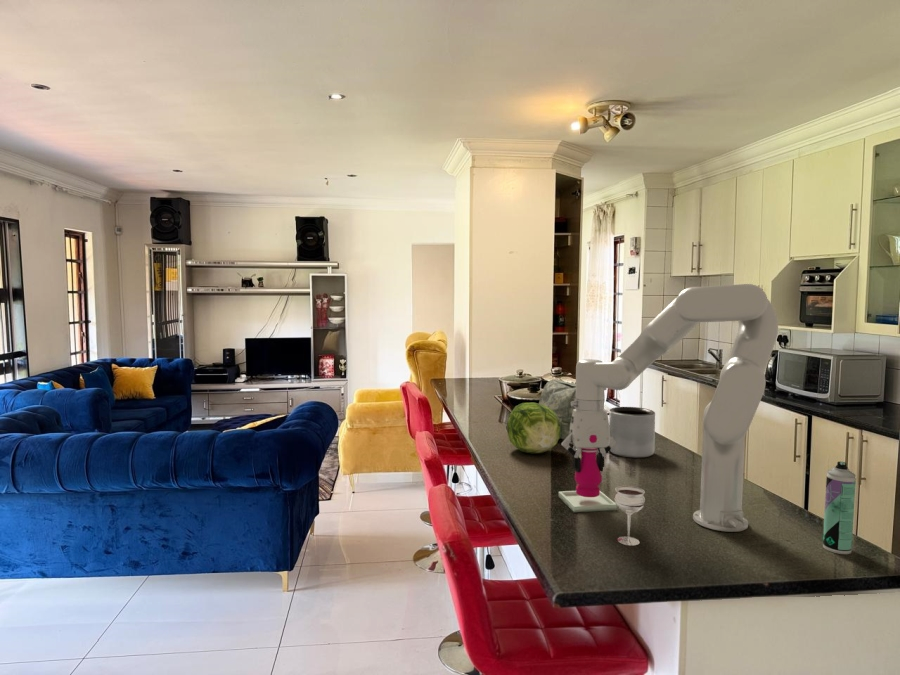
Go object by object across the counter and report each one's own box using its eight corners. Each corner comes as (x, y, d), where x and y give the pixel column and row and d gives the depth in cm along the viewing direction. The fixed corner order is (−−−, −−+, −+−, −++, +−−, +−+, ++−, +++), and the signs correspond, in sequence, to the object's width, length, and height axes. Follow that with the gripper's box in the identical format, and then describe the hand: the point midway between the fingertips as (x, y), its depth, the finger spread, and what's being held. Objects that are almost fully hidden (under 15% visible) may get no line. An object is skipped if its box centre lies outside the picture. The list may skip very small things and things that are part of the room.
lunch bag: (605, 440, 232) (606, 385, 231) (565, 444, 226) (566, 387, 224) (569, 426, 257) (570, 376, 255) (532, 429, 250) (533, 378, 249)
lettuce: (519, 464, 200) (530, 414, 197) (496, 438, 222) (506, 393, 219) (569, 468, 206) (581, 419, 203) (543, 442, 228) (552, 398, 225)
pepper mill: (602, 499, 157) (603, 425, 156) (574, 497, 159) (575, 423, 157) (600, 490, 164) (602, 419, 163) (574, 488, 166) (575, 418, 164)
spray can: (840, 543, 136) (845, 458, 135) (857, 554, 131) (862, 465, 129) (817, 543, 136) (821, 459, 135) (833, 554, 131) (838, 466, 129)
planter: (616, 459, 205) (617, 415, 204) (602, 447, 221) (603, 406, 220) (661, 459, 206) (662, 415, 205) (644, 447, 222) (645, 406, 221)
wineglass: (609, 535, 140) (610, 485, 139) (636, 534, 141) (638, 485, 140) (619, 547, 134) (620, 495, 133) (648, 546, 134) (650, 495, 133)
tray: (616, 509, 157) (617, 504, 157) (574, 512, 155) (574, 506, 155) (598, 494, 169) (598, 489, 168) (558, 496, 167) (558, 491, 167)
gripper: (564, 408, 155) (562, 476, 156) (625, 406, 157) (624, 473, 159) (554, 403, 162) (553, 467, 163) (613, 401, 165) (612, 465, 166)
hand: (588, 469), depth 161 cm, fingers closed on pepper mill, 5 cm apart
